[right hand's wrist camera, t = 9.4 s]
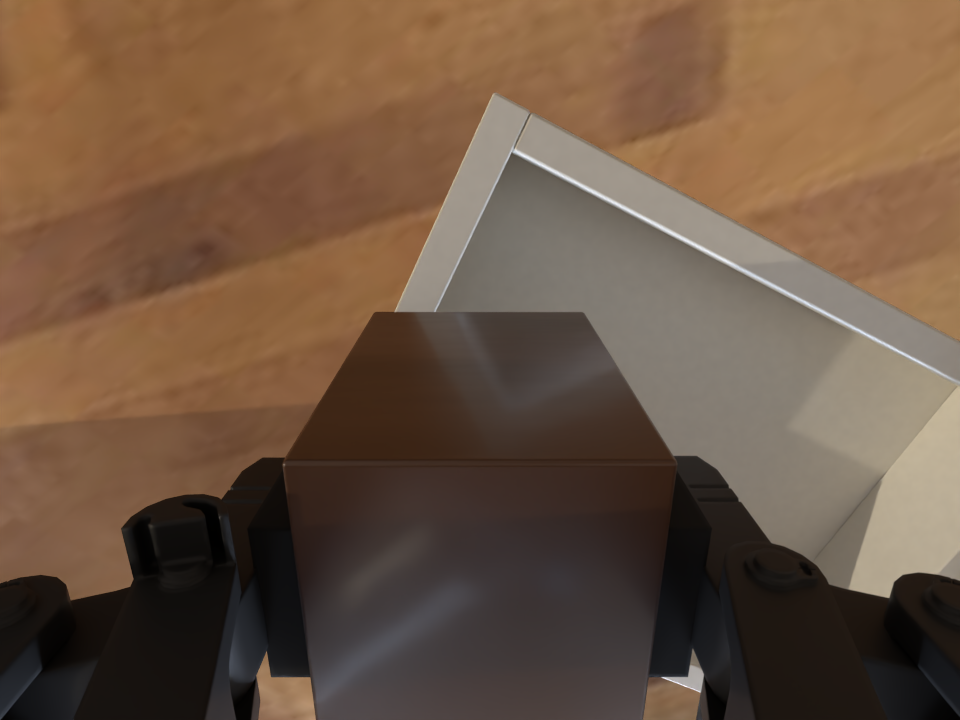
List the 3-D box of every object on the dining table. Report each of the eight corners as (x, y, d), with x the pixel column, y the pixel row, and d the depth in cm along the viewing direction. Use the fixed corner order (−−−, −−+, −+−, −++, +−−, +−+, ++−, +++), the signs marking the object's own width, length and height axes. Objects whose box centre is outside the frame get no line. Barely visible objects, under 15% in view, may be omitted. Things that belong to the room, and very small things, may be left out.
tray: (1152, 458, 23) (1801, 755, 12) (915, 697, 27) (1224, 1085, 16) (490, 105, 19) (507, 39, 7) (331, 456, 23) (187, 755, 12)
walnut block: (572, 492, 16) (641, 745, 9) (385, 492, 16) (318, 745, 9) (585, 311, 14) (680, 461, 7) (373, 310, 14) (279, 461, 7)
